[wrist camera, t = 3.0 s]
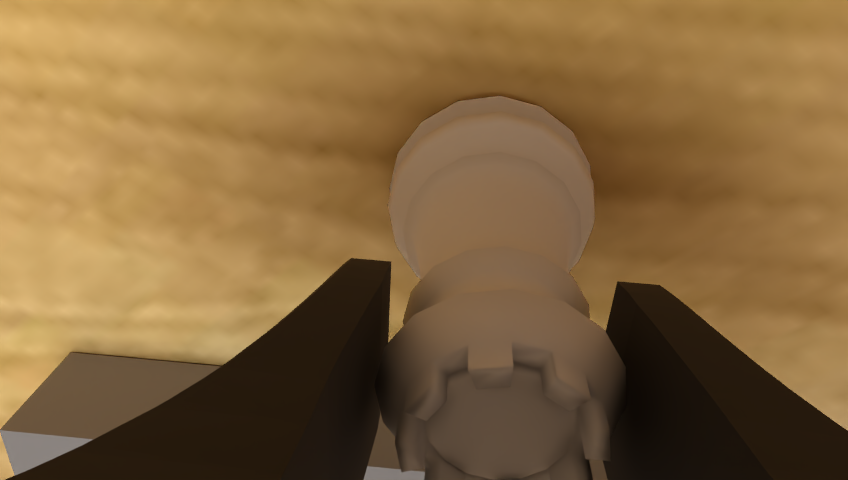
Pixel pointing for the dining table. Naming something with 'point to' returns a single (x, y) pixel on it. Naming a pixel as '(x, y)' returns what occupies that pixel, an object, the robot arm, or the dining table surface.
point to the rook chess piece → (497, 302)
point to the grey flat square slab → (134, 410)
